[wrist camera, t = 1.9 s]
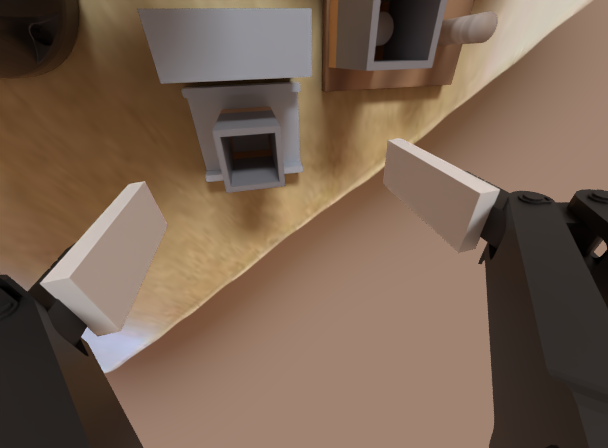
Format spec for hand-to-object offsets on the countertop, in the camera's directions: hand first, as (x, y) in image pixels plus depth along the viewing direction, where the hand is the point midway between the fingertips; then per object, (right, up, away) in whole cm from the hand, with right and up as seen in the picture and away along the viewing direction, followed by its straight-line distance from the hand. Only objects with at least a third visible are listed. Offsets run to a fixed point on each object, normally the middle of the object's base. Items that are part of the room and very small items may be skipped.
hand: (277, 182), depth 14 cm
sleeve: (-5, +9, +15) cm, 18 cm away
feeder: (-5, +11, +15) cm, 19 cm away
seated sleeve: (+7, +17, +11) cm, 22 cm away
